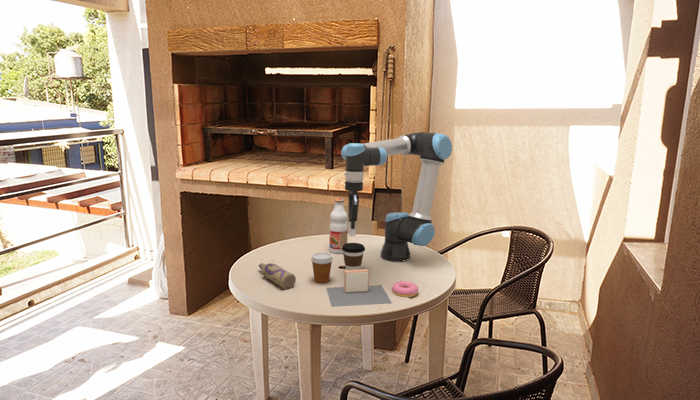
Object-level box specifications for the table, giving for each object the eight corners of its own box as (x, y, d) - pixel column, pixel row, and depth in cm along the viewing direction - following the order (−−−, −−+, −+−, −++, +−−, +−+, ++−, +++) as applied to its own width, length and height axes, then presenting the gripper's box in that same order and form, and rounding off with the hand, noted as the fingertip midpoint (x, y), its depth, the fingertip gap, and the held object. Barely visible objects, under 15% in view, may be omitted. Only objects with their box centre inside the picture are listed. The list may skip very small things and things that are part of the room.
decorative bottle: (297, 287, 192) (297, 272, 190) (281, 291, 187) (281, 276, 186) (268, 268, 211) (267, 255, 210) (253, 272, 207) (253, 258, 205)
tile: (367, 289, 189) (367, 269, 187) (368, 291, 187) (369, 271, 185) (343, 290, 187) (344, 270, 185) (344, 293, 185) (345, 272, 183)
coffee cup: (336, 270, 211) (336, 245, 209) (352, 264, 219) (352, 240, 217) (353, 276, 204) (354, 251, 202) (369, 270, 212) (370, 246, 209)
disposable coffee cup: (324, 287, 191) (324, 261, 188) (306, 282, 196) (306, 256, 193) (336, 280, 199) (337, 255, 196) (319, 276, 204) (319, 250, 201)
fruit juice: (348, 253, 234) (349, 201, 228) (330, 254, 233) (331, 201, 227) (345, 248, 243) (346, 197, 237) (328, 248, 242) (329, 197, 236)
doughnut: (386, 292, 189) (386, 282, 188) (405, 286, 195) (405, 277, 194) (404, 301, 180) (405, 291, 179) (423, 294, 187) (424, 285, 186)
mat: (381, 286, 194) (381, 285, 194) (392, 304, 177) (392, 303, 176) (326, 289, 190) (326, 287, 190) (331, 308, 173) (331, 306, 172)
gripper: (343, 178, 192) (341, 231, 197) (347, 183, 180) (345, 240, 185) (360, 178, 194) (358, 231, 198) (365, 183, 181) (363, 239, 186)
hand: (352, 235), depth 191 cm, fingers closed
